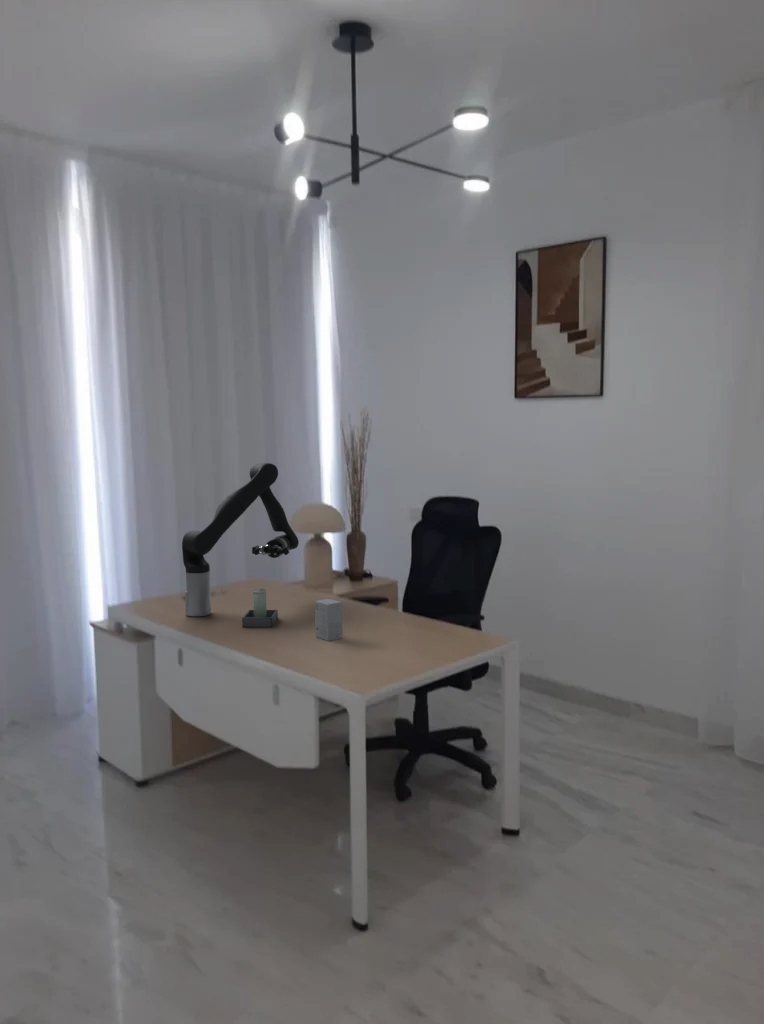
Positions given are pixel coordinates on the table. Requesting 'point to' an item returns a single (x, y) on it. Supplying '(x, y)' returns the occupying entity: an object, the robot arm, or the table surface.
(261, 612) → the canister
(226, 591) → the table surface
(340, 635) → the small box
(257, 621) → the tray
